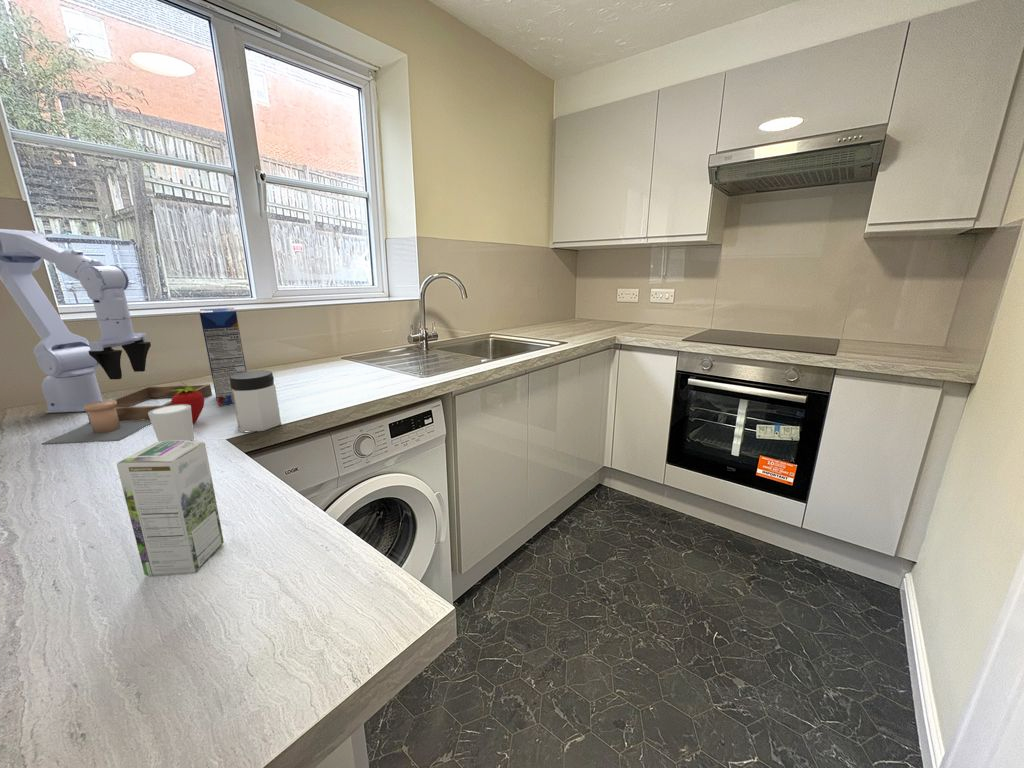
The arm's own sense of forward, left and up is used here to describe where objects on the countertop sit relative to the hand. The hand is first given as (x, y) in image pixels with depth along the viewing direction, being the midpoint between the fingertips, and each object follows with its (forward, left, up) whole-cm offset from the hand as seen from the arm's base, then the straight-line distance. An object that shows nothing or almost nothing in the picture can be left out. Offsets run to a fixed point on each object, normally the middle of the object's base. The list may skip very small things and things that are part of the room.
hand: (128, 375), depth 101 cm
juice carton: (+19, +8, -10) cm, 22 cm away
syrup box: (+46, -62, -10) cm, 77 cm away
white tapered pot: (+22, -22, -10) cm, 32 cm away
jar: (+35, -15, -10) cm, 39 cm away
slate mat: (+3, -14, -9) cm, 17 cm away
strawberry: (+19, -11, -10) cm, 24 cm away
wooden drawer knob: (+3, -13, -9) cm, 16 cm away
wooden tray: (+3, +3, -9) cm, 10 cm away
